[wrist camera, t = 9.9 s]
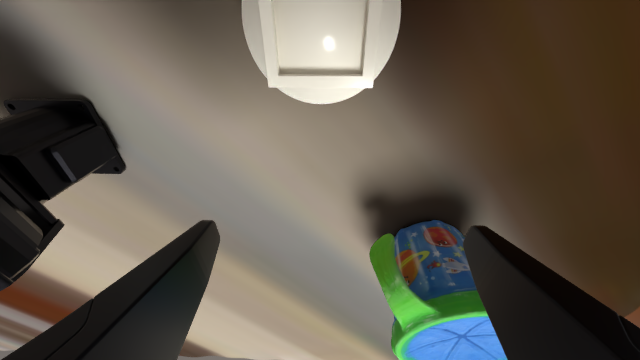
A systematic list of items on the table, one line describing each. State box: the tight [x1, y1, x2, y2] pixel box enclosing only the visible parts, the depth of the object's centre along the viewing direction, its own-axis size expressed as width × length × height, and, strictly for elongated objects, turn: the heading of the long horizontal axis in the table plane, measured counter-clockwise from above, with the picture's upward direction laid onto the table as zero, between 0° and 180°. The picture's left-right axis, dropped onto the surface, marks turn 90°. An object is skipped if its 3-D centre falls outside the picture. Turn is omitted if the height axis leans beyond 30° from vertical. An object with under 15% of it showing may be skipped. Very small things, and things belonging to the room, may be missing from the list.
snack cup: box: [370, 220, 507, 360], centre depth 22 cm, size 16×10×10 cm
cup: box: [242, 0, 401, 104], centre depth 13 cm, size 8×8×4 cm
